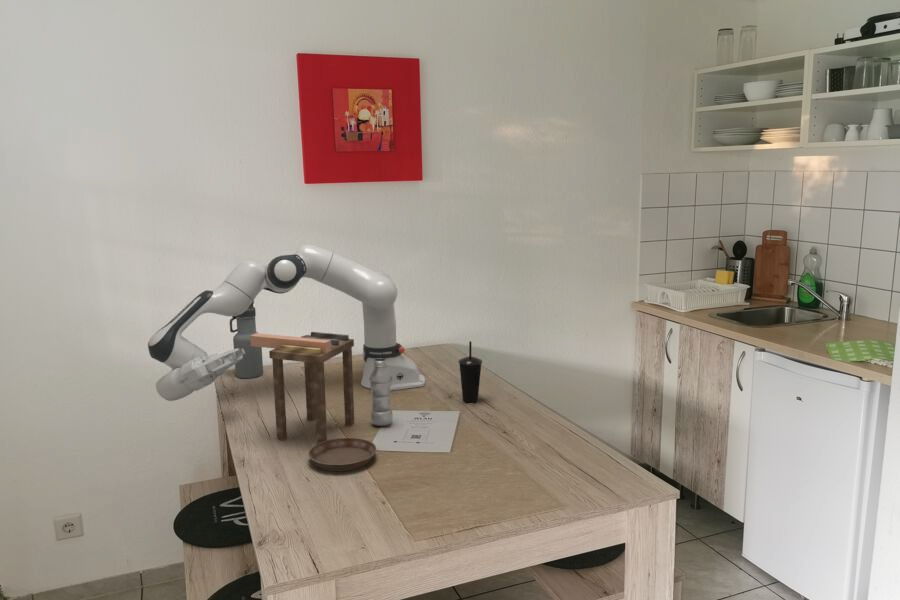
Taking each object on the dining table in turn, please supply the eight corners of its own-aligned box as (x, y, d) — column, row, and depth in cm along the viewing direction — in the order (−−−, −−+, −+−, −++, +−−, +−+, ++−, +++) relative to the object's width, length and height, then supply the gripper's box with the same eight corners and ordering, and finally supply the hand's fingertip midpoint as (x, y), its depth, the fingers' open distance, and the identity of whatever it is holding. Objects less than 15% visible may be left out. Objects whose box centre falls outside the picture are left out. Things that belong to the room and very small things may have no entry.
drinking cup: (482, 397, 233) (482, 338, 229) (481, 405, 225) (481, 345, 221) (459, 396, 233) (459, 338, 229) (457, 404, 226) (457, 344, 222)
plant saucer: (303, 452, 191) (303, 442, 190) (367, 443, 197) (367, 433, 196) (315, 480, 174) (314, 468, 174) (384, 469, 180) (384, 458, 180)
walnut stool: (274, 440, 199) (268, 345, 193) (309, 417, 216) (305, 330, 211) (324, 447, 193) (320, 351, 188) (356, 423, 211) (353, 334, 205)
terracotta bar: (250, 346, 199) (250, 335, 198) (257, 343, 201) (256, 333, 201) (325, 353, 191) (325, 342, 190) (331, 350, 193) (330, 340, 193)
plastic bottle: (389, 429, 206) (387, 363, 202) (367, 427, 207) (365, 362, 203) (395, 421, 212) (394, 357, 208) (374, 419, 213) (372, 356, 209)
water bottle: (229, 377, 255) (223, 302, 250) (244, 369, 264) (239, 296, 259) (253, 380, 252) (248, 303, 247) (268, 372, 261) (264, 298, 256)
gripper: (170, 374, 199) (204, 356, 194) (216, 353, 218) (248, 337, 213) (180, 394, 200) (214, 377, 194) (226, 371, 218) (258, 355, 213)
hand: (232, 356), depth 204 cm, fingers open, 8 cm apart
